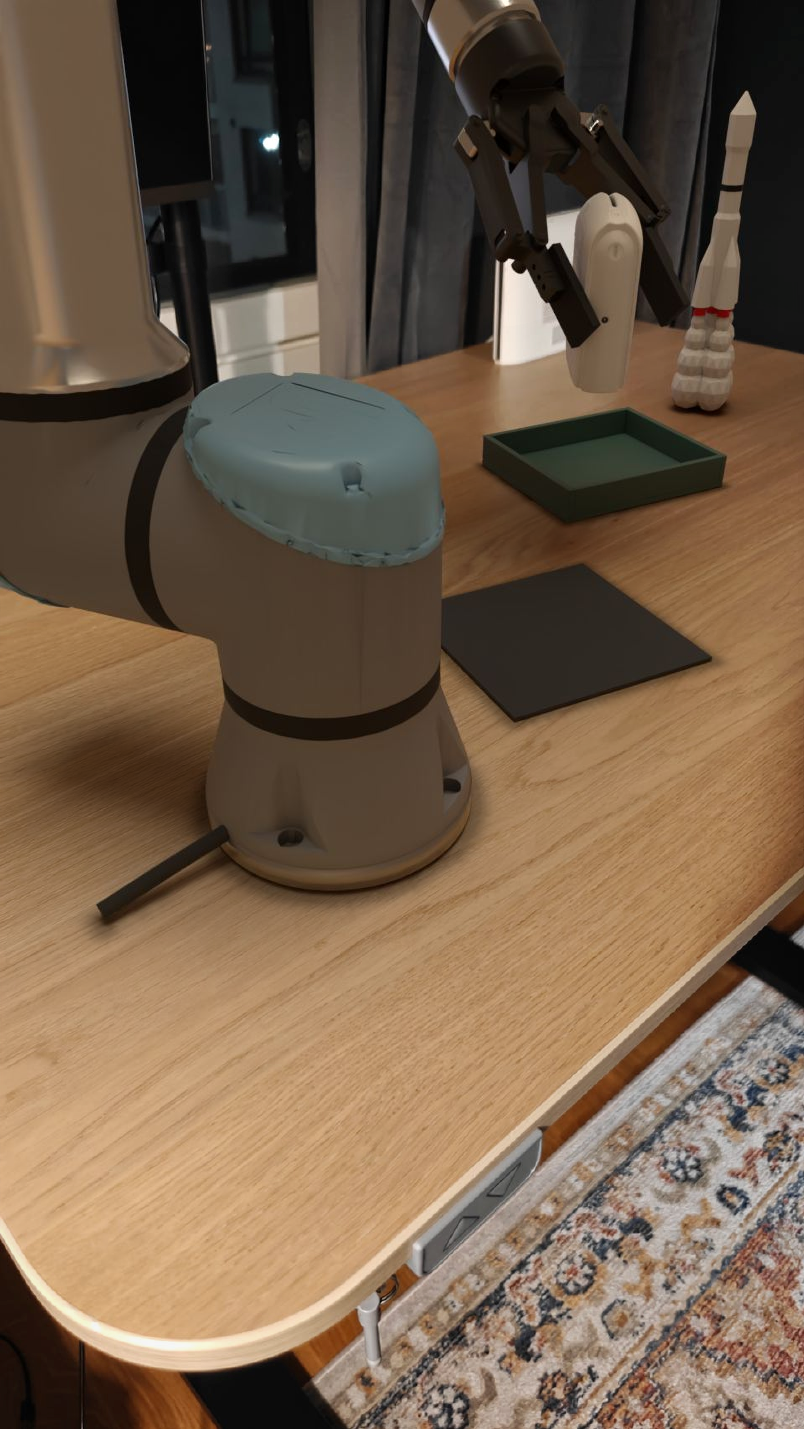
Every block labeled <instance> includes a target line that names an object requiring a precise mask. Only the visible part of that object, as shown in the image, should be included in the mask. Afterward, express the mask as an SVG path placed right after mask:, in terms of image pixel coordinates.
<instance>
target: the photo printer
mask: <svg viewBox="0 0 804 1429" xmlns="http://www.w3.org/2000/svg"><path fill="white" fill-rule="evenodd" d="M573 238H574V239H573V240H574V241H573V252H572V264H571V265H572V267H573V269H574V271H575V273H576V275H577V277H578V279H579V281H580V283H581V285H582V287H583V289H584V291H585V293H586V295H587V297H588V299H589V301H590V304H591V306H592V308H593V310H594V312H595V314H596V316H597V318H598V320H599V322H600V324H601V325H600V326H599V327H598V328H597V329H596V330H595V331H594V332H593V333H592V334H591V335H590V336H589V337H588V339H587V340H586V341H585V342H584V343H583V344H582V345H581V346H580V347H577V348H573V349H571V347H570V345H569V343H568V341H567V339H566V338H565V356H566V357H565V359H566V364H567V368H568V371H569V376H570V377H569V378H570V379H571V382H572V384H573V386H574V387H575V388H577V389H580V390H581V391H582V392H583V393H588V394H613V393H617V392H619V390H620V389H624V388H625V385H626V382H627V379H628V372H629V366H630V359H631V350H632V343H633V333H634V325H635V316H636V309H637V300H638V291H639V285H640V284H639V275H640V267H641V258H642V250H643V235H642V229H641V224H640V221H639V218H638V215H637V213H636V211H635V209H634V207H633V205H632V204H631V203H630V202H629V201H628V199H626V198H625V197H624V196H622V195H620V194H619V193H613V194H611V195H609V196H608V195H607V194H606V193H603V192H601V193H598V194H596V195H594V196H593V197H591V198H590V199H589V200H587V201H586V202H585V203H584V204H583V205H582V207H581V209H580V211H579V212H578V214H577V216H576V220H575V225H574V237H573Z"/></svg>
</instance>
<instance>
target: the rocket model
mask: <svg viewBox="0 0 804 1429" xmlns="http://www.w3.org/2000/svg"><path fill="white" fill-rule="evenodd" d="M756 120H757V112H756V108H755V106H754V103H753V100H752V98H751V95H750V93H749V91H748V90H745V91H744V93H743V94H742V96H741V97H740V98H739V100H738V102H737V103H736V105H735V106H734V108H733V109H732V110H731V112H730V114H729V120H728V125H727V126H728V127H727V133H726V140H725V150H726V154H725V160H724V166H723V171H722V180H721V185H720V193H719V200H718V205H717V206H718V207H717V212H716V214H715V215H714V217H713V223H712V229H711V236H710V243H709V245H708V247H707V249H706V251H705V253H704V255H703V257H702V260H701V262H700V264H699V268H698V272H697V277H696V282H695V285H694V290H693V294H692V298H691V301H690V303H691V305H690V307H693V308H694V310H693V313H692V315H693V316H692V317H691V320H690V326H689V328H688V329H687V331H686V333H685V336H684V345H683V348H682V349H681V351H680V352H679V355H678V358H677V361H676V364H677V365H676V366H677V371H676V372H675V373H674V376H673V379H672V382H671V384H670V389H671V390H670V391H671V397H672V398H671V399H673V401H674V403H675V405H676V406H677V407H680V408H682V409H689V408H695V407H696V406H697V407H700V409H701V410H704V411H707V412H713V411H715V410H718V409H720V408H721V407H722V406H723V405H724V404H725V403H726V401H727V400H728V398H729V395H730V393H731V390H732V388H733V385H734V373H733V370H732V367H733V366H734V362H735V359H736V355H735V348H734V346H733V340H734V337H735V327H734V326H733V324H732V323H733V320H734V311H733V310H734V309H735V305H736V304H737V303H738V299H739V288H740V287H739V286H740V272H741V256H740V251H739V244H738V236H739V231H740V224H741V218H742V217H741V213H740V207H741V201H742V194H743V190H744V184H745V183H744V182H745V176H746V169H747V163H748V158H749V151H750V149H751V147H752V144H753V138H754V132H755V124H756Z"/></svg>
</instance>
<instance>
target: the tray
mask: <svg viewBox="0 0 804 1429" xmlns="http://www.w3.org/2000/svg"><path fill="white" fill-rule="evenodd" d="M727 459H728V455H727V454H725V453H723V452H720V451H719V450H717V449H715V448H712V447H711V446H709V445H706V444H704V443H703V442H701V441H698V440H696V439H695V438H692V437H690V436H688V435H686V434H685V433H683V432H680V431H678V430H677V429H674V428H673V427H670V426H668V425H666V424H664V423H662V422H660V421H658V420H656V419H654V418H652V417H651V416H648V415H646V414H644V413H642V412H640V411H639V410H636V409H634V408H631V406H625V407H621V408H616V409H615V408H614V409H610V410H606V411H600V412H596V413H591V414H584V415H580V416H575V417H570V418H564V419H560V420H559V419H558V420H554V421H548V422H544V423H539V424H533V425H529V426H524V427H519V428H513V429H508V430H503V431H498V432H493V433H488V434H483V435H482V461H481V462H482V463H481V464H482V466H483V467H485V468H487V469H488V470H489V471H491V472H493V473H494V474H496V475H497V476H498V477H500V478H501V479H502V480H504V481H505V482H507V483H508V484H510V485H512V486H513V487H514V488H516V489H517V490H519V491H520V492H522V493H523V494H524V495H526V496H528V497H529V498H530V499H532V500H533V501H535V502H536V503H538V504H539V505H541V506H542V507H543V508H545V509H546V510H548V511H549V512H551V513H552V514H554V515H555V516H556V517H558V518H560V519H561V520H562V521H564V522H565V523H567V524H568V523H573V522H576V521H580V520H585V519H590V518H593V517H598V516H601V515H605V514H606V515H607V514H610V513H615V512H619V511H622V510H627V509H631V508H635V507H639V506H644V505H648V504H651V503H653V504H654V503H656V502H660V501H664V500H669V499H673V498H677V497H681V496H687V495H691V494H695V493H699V492H702V491H707V490H712V489H715V488H719V487H722V486H723V483H724V482H723V481H724V477H725V470H726V466H727Z"/></svg>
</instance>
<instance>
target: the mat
mask: <svg viewBox="0 0 804 1429" xmlns="http://www.w3.org/2000/svg"><path fill="white" fill-rule="evenodd" d="M441 650H443V651H444V652H445V653H446V654H447V655H448V656H449V657H450V658H451V659H452V660H453V661H454V662H455V663H456V664H457V665H458V666H459V667H460V669H462V670H463V672H465V673H466V675H468V676H469V678H471V680H473V681H474V683H476V684H477V685H478V686H479V688H480V689H482V690H483V691H484V692H485V694H487V696H488V697H490V698H491V700H492V701H494V702H495V704H497V706H498V707H499V708H500V709H501V710H502V711H503V712H504V713H505V714H506V715H507V716H508V717H509V718H510V719H511V720H512V721H513V722H519V721H522V720H525V719H527V718H530V717H534V716H537V715H540V714H543V713H547V712H551V711H553V710H556V709H560V708H563V707H567V706H570V705H573V704H576V703H579V702H583V701H585V700H590V699H593V698H595V697H598V696H601V695H602V696H603V695H605V694H608V693H610V692H611V693H612V692H615V691H618V690H621V689H625V688H627V687H630V686H633V685H637V684H640V683H643V682H647V681H649V680H652V679H656V678H660V677H662V676H666V675H669V674H672V673H675V672H679V671H682V670H685V669H689V668H691V667H695V666H698V665H701V664H704V663H708V662H711V661H713V656H712V655H711V654H709V653H708V652H706V651H705V650H704V649H702V648H700V646H699V645H696V644H695V643H694V642H692V641H691V640H690V639H688V638H687V637H686V636H684V635H683V634H681V633H680V632H679V631H677V630H676V629H675V628H674V627H672V626H671V625H669V624H668V623H667V622H666V621H664V620H662V619H661V618H660V617H658V616H656V615H655V614H654V613H652V611H649V610H648V609H647V608H646V607H644V606H643V605H641V604H640V603H638V602H637V601H636V600H635V599H633V598H632V597H630V596H629V595H628V594H626V593H625V592H624V591H622V590H621V589H620V588H618V587H616V585H614V584H613V583H611V582H610V581H608V580H607V579H605V578H604V577H603V576H601V575H600V574H599V573H597V572H596V571H595V570H594V569H592V568H591V567H589V566H588V565H586V564H585V563H583V562H580V563H577V564H573V565H569V566H566V567H562V568H558V569H554V570H550V571H546V572H541V573H538V574H533V575H530V576H526V577H521V578H519V579H514V580H511V581H507V582H503V583H500V584H494V585H491V586H487V587H483V588H478V589H476V590H471V591H468V592H463V593H460V594H456V595H451V596H448V597H444V598H442V608H441Z"/></svg>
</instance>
